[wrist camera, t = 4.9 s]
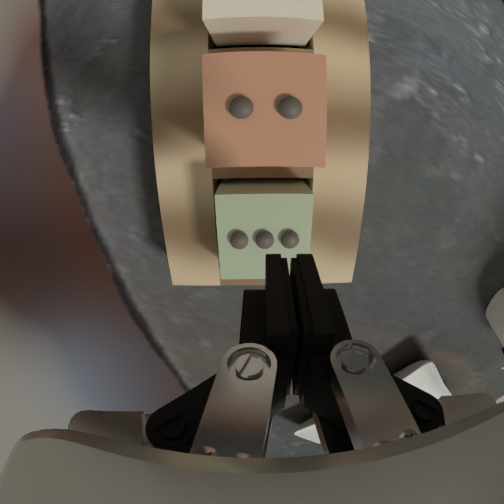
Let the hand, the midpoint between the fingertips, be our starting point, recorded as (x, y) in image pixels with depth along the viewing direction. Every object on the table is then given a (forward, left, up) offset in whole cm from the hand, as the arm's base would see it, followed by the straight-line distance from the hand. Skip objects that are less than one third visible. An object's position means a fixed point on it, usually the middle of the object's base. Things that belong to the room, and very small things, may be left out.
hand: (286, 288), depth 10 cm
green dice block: (+1, -1, -10) cm, 11 cm away
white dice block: (-13, -1, -8) cm, 16 cm away
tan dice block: (-6, -1, -8) cm, 11 cm away
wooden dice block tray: (-6, -1, -11) cm, 12 cm away
